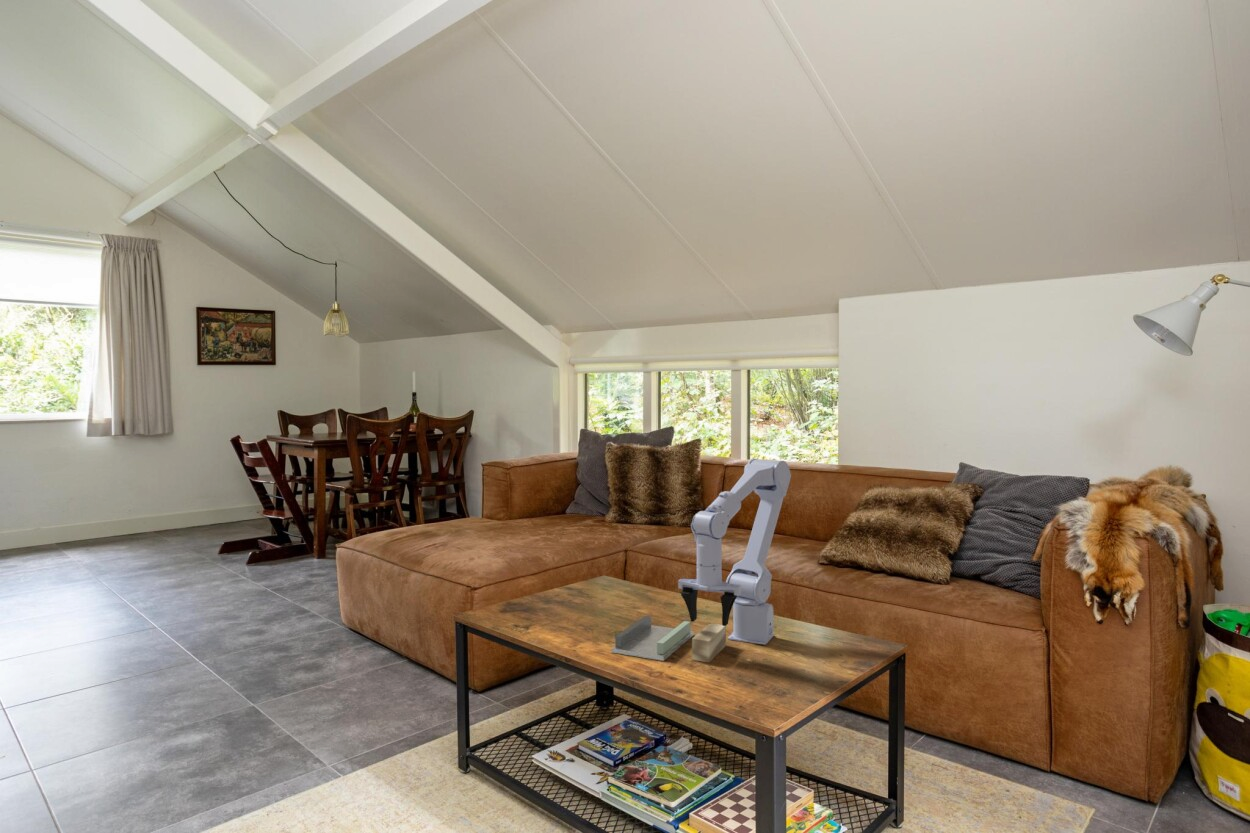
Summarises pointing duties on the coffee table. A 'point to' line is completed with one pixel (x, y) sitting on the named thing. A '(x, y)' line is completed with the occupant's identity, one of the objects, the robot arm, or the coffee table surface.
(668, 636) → the bar
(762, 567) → the robot arm
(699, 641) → the wood bar
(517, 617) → the coffee table surface
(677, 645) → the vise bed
